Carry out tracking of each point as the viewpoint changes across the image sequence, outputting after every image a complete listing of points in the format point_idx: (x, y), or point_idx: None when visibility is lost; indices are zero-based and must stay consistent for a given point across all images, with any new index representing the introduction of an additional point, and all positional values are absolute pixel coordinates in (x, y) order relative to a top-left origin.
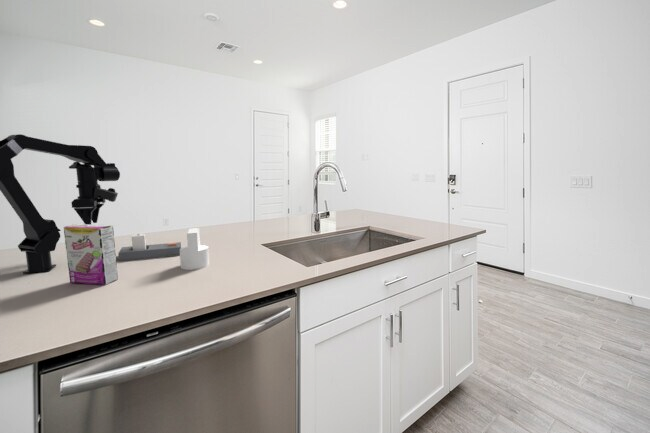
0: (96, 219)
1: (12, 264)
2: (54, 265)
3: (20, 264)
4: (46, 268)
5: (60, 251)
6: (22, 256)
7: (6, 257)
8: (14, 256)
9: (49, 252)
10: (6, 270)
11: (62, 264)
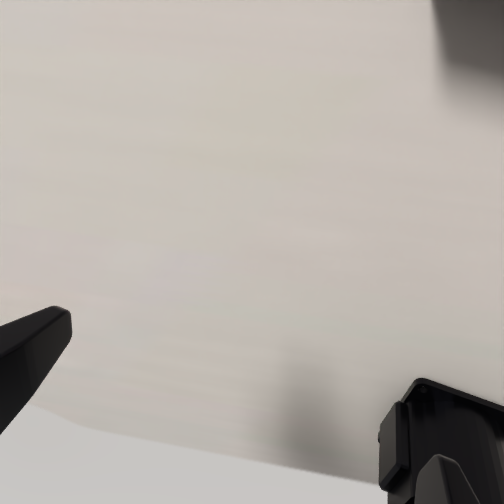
0: (30, 344)
1: (238, 445)
2: (442, 392)
3: (257, 434)
4: (500, 428)
5: (67, 303)
6: (110, 403)
7: (104, 430)
8: (98, 415)
9: (495, 496)
10: (335, 475)
11: (399, 350)
